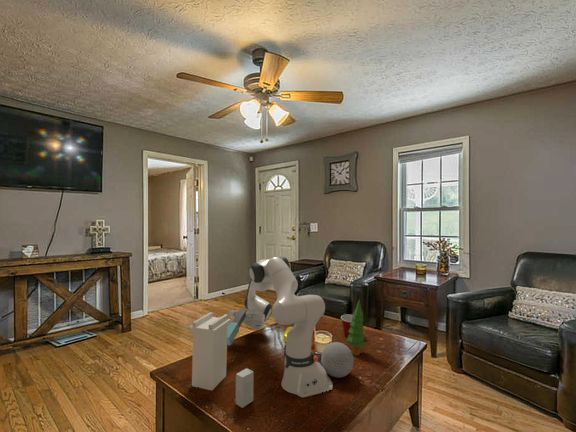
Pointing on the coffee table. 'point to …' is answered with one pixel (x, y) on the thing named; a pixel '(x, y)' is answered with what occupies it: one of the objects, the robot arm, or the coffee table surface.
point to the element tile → (286, 333)
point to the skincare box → (244, 387)
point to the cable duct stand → (209, 350)
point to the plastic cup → (346, 323)
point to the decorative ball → (337, 359)
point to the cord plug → (235, 326)
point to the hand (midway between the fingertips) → (241, 313)
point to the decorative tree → (356, 330)
